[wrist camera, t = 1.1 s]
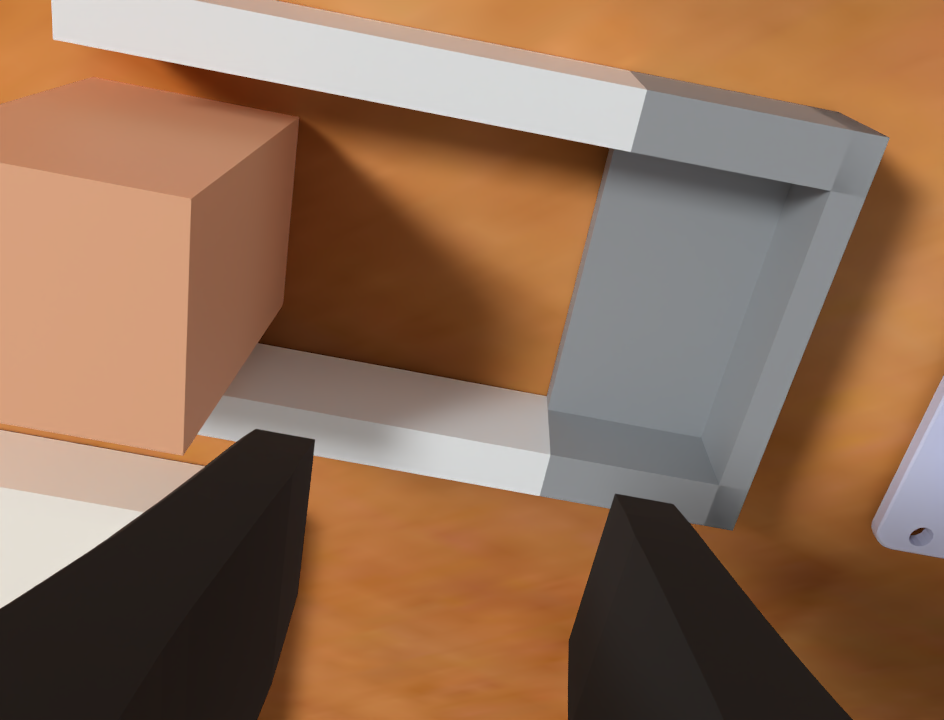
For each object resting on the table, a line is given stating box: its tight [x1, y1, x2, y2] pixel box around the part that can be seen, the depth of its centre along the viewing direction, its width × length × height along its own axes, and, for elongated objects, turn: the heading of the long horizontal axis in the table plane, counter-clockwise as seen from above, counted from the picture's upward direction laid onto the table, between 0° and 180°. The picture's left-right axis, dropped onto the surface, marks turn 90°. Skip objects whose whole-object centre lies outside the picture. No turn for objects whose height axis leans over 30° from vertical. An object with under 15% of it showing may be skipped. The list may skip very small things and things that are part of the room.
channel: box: [51, 0, 647, 496], centre depth 16 cm, size 10×8×2 cm
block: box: [0, 77, 299, 455], centre depth 14 cm, size 4×4×6 cm
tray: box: [0, 430, 205, 608], centre depth 21 cm, size 9×9×2 cm
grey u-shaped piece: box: [540, 71, 889, 531], centre depth 16 cm, size 4×8×2 cm, turn 170°
